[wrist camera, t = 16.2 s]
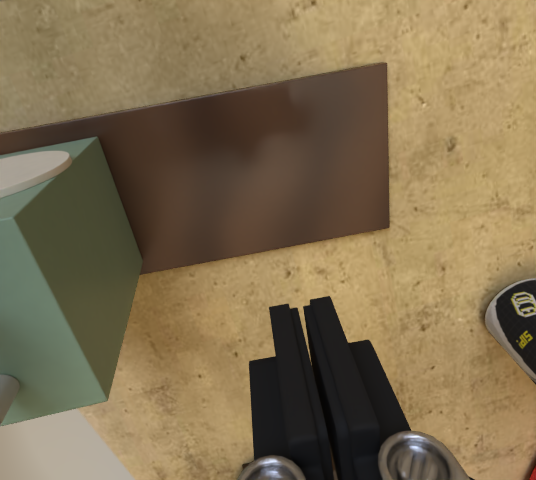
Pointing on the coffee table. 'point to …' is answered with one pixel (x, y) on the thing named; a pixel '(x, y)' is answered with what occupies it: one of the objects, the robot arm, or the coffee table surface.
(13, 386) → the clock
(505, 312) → the beverage can
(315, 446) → the robot arm
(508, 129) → the coffee table surface
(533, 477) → the alarm clock
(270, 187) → the clock stand
